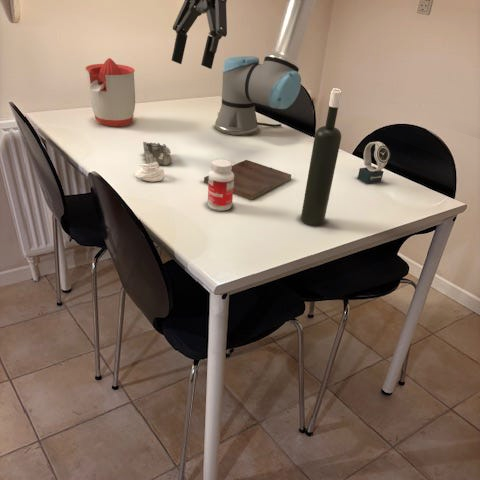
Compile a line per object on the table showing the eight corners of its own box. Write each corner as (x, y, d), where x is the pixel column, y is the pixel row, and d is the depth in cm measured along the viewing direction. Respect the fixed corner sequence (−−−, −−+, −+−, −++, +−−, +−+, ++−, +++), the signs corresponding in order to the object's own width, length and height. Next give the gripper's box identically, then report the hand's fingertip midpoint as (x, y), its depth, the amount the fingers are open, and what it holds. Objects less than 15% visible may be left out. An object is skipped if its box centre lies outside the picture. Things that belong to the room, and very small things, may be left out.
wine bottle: (311, 213, 121) (335, 84, 102) (328, 222, 118) (356, 90, 99) (295, 218, 118) (317, 86, 99) (313, 228, 114) (338, 93, 96)
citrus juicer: (78, 124, 162) (70, 58, 149) (108, 113, 175) (103, 51, 162) (118, 133, 158) (112, 66, 145) (145, 121, 170) (143, 58, 158)
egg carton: (171, 166, 139) (171, 152, 136) (145, 166, 137) (144, 152, 135) (167, 153, 147) (167, 139, 144) (143, 153, 145) (142, 139, 143)
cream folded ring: (138, 186, 128) (136, 169, 124) (132, 174, 132) (130, 158, 129) (167, 182, 130) (166, 165, 127) (160, 170, 134) (159, 154, 131)
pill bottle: (202, 205, 120) (203, 161, 113) (218, 198, 123) (221, 156, 117) (220, 213, 117) (223, 169, 110) (237, 206, 120) (240, 163, 114)
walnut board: (245, 164, 144) (246, 159, 143) (290, 179, 138) (291, 174, 137) (203, 182, 131) (204, 177, 130) (251, 200, 124) (252, 194, 123)
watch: (371, 186, 138) (380, 148, 131) (353, 176, 144) (362, 139, 137) (385, 184, 141) (396, 146, 134) (367, 174, 146) (376, 137, 139)
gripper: (171, -37, 119) (153, 55, 126) (232, -43, 103) (207, 63, 110) (195, -23, 124) (176, 65, 132) (257, -26, 108) (231, 74, 115)
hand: (190, 64), depth 121 cm, fingers open, 13 cm apart
